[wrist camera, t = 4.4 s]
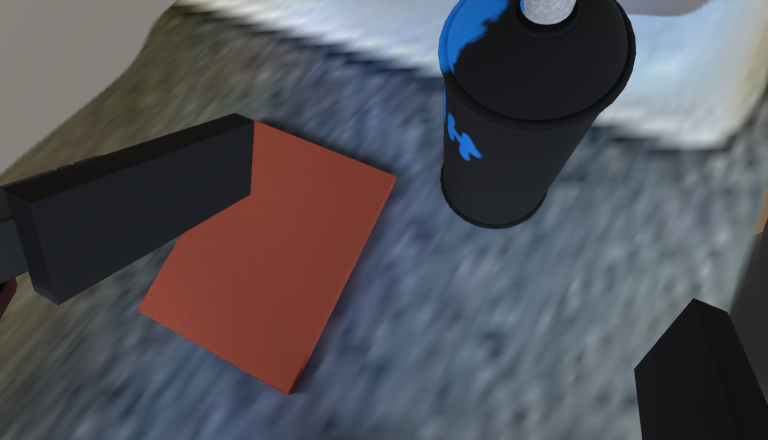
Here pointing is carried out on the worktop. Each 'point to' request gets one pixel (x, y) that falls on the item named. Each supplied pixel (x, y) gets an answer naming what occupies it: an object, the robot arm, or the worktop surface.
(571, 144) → the aerosol can
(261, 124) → the pad
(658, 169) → the worktop surface
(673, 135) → the worktop surface
